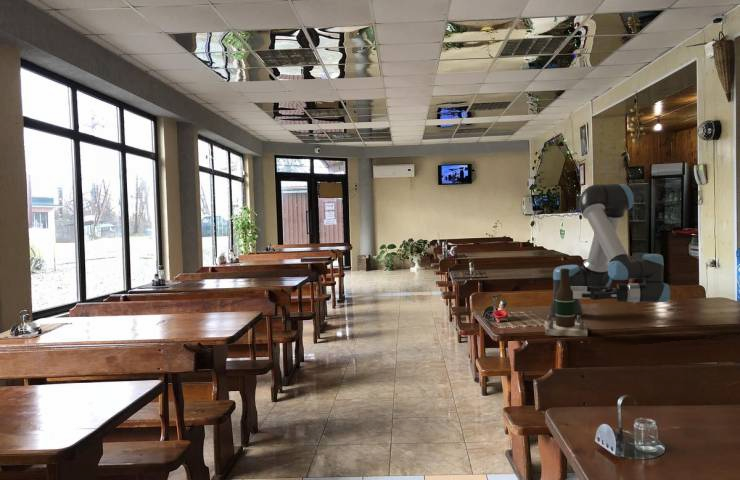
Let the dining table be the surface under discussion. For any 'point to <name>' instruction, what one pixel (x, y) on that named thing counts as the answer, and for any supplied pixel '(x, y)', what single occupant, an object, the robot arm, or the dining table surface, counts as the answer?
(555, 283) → the robot arm
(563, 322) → the beer bottle
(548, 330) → the condiment stand
